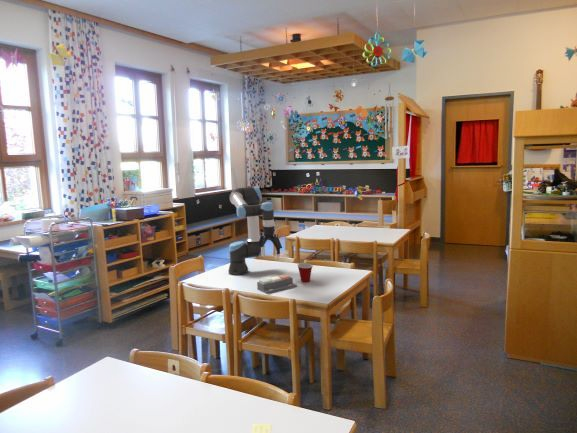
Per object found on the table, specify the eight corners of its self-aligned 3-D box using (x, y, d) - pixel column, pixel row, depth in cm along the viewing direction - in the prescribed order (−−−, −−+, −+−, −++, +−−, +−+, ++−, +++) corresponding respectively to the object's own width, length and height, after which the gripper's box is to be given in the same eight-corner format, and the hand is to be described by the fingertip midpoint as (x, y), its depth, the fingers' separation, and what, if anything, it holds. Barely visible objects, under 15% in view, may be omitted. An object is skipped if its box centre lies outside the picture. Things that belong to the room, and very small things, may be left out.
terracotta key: (278, 280, 299) (278, 275, 298) (285, 278, 302) (285, 274, 302) (283, 282, 294) (282, 277, 293) (290, 280, 297) (290, 276, 297)
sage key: (259, 284, 291) (259, 280, 291) (267, 282, 294) (267, 278, 294) (264, 286, 286) (263, 282, 286) (271, 284, 289) (271, 280, 289)
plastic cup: (310, 284, 297) (309, 267, 295) (295, 283, 302) (294, 266, 300) (315, 279, 307) (315, 263, 305) (301, 278, 312) (301, 262, 310)
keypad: (257, 289, 292) (257, 282, 291) (286, 282, 304) (286, 275, 303) (267, 294, 281) (266, 286, 281) (296, 286, 294) (296, 279, 293)
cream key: (269, 282, 295) (268, 278, 295) (276, 280, 298) (276, 276, 298) (273, 284, 290) (273, 279, 290) (281, 282, 293) (281, 278, 293)
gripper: (251, 225, 293) (253, 256, 296) (278, 228, 276) (280, 261, 279) (259, 223, 299) (261, 254, 301) (286, 226, 282) (288, 258, 284)
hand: (270, 257), depth 290 cm, fingers open, 13 cm apart
